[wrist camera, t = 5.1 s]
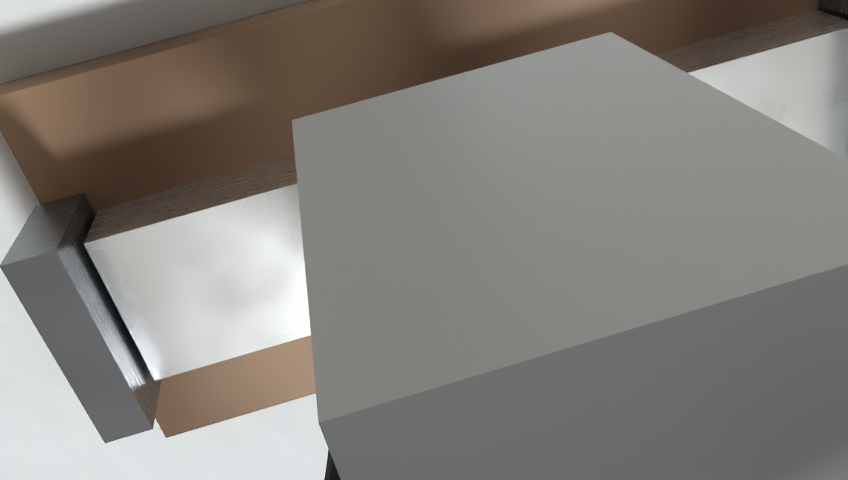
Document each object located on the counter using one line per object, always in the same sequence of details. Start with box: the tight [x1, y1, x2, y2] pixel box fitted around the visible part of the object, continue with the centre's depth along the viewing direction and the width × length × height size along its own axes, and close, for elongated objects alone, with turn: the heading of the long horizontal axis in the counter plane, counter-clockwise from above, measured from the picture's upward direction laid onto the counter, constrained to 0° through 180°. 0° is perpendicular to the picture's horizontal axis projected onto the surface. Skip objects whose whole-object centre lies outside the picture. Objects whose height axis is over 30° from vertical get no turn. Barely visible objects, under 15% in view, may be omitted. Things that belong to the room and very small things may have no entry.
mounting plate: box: [0, 0, 819, 438], centre depth 18 cm, size 18×9×1 cm, turn 103°
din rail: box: [0, 0, 848, 443], centre depth 16 cm, size 18×4×2 cm, turn 103°
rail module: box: [292, 32, 848, 480], centre depth 9 cm, size 4×8×6 cm, turn 13°
